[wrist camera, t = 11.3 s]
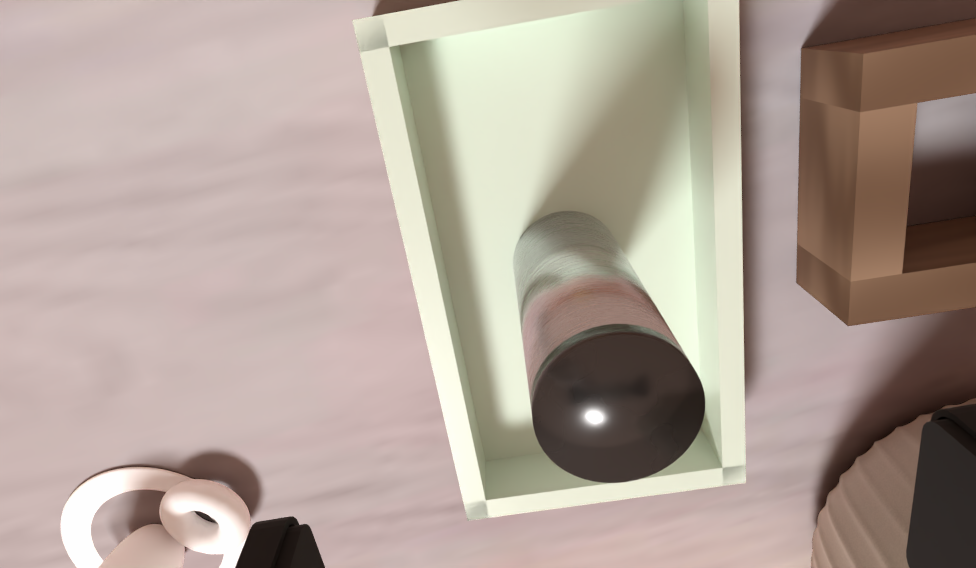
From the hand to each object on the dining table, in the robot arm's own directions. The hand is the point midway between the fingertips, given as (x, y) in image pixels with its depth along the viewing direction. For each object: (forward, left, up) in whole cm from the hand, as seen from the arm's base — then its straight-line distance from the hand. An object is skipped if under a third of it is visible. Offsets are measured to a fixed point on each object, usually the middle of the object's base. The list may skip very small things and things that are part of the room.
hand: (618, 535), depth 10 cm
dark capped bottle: (0, +1, -13) cm, 13 cm away
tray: (0, +1, -14) cm, 13 cm away
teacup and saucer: (+12, -16, -14) cm, 24 cm away
